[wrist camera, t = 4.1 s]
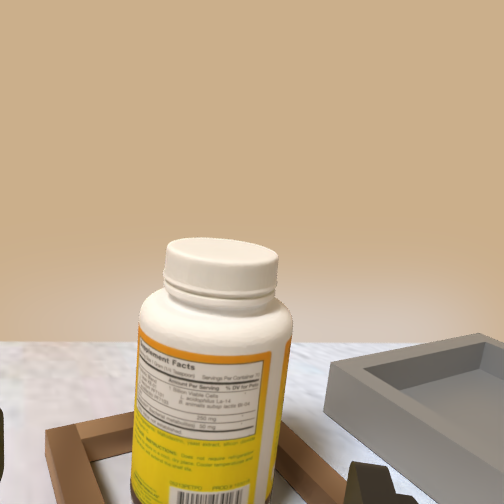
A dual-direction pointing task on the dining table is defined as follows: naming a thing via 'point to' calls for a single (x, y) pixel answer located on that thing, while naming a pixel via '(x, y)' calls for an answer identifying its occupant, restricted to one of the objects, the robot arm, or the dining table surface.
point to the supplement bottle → (210, 377)
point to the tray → (429, 414)
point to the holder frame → (121, 440)
